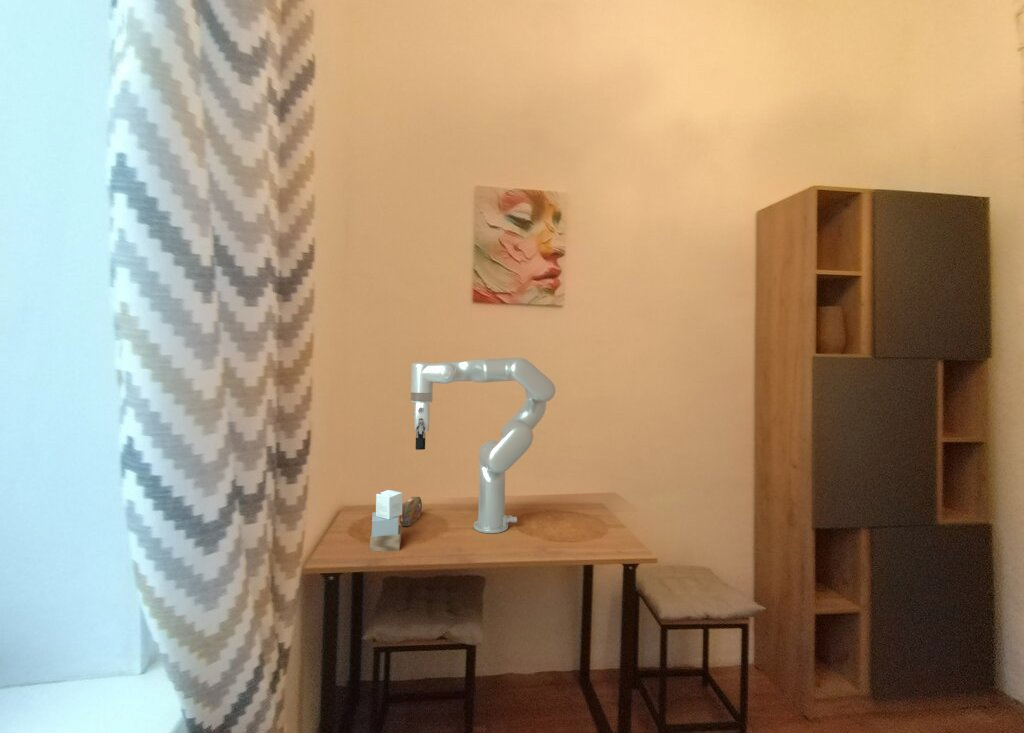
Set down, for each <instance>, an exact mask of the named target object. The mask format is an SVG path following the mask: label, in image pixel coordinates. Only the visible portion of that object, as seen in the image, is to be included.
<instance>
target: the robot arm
mask: <svg viewBox="0 0 1024 733" xmlns="http://www.w3.org/2000/svg"><path fill="white" fill-rule="evenodd" d="M410 369H411V371H410V374H411V376H410V403H413V426H414V427H413V428H414V431H415V433H416V435H415V450H417V451H421V450H425V449H426V431H427V432H429V431H430V410H431V409H430V403H433V394H434V393H433V392H434V390H433V388H434V383H435V384H443V385H448V384H450V383H452V382H473V383H497V382H498V383H500V382H501V383H502V382H516V383H518V384H519V385H520V386H521V387H522V388H523V389H524V391H525V392H524V393H525V401H524V403H523V405H522V406H521V407H520V408H519V410H518V411H517V412H516V413H515V414H514V415H513V416H512V417H511V418H510V419H509V420H508V421H507V422H505V424H504V425H503V426H502V428H501V429H500V430H501V431H500V436H501V439H500V440H498V441H497V440H493V439H490V440H486V441H485V442H484V443H483V444H482V445H480V448H479V451H478V469H479V470H478V472H479V473H478V477H479V478H478V509H477V510H478V512H477V513H478V514H477V517H478V518H477V520H475V521H474V522H473V528H474V530H476V531H477V532H479V533H484V534H498V533H502V532H505V531H506V530H508V529H509V523H517V522H518V518H517V516H513V515H509V514H508V515H506V514H505V503H506V502H505V499H506V471H508V470H509V469H511V467H513V465H514V464H516V462H517V461H518V460H519V459H520V458H521V457H522V456H523V455H524V454H525V453H526V452H527V451H528V450H529V448H530V447H531V445H532V444H533V442H534V432H533V430H534V429H535V427H537V425H538V424H539V423H540V422H541V420H542V419H543V417H544V415H545V413H546V408H547V402H550V401H551V400H552V399H553V398H554V397H555V395H556V386H555V384H554V382H553V381H552V380H551V379H550V378H548V376H547V375H545V373H543V372H542V371H540V369H538V367H537V366H535V365H534V364H533V363H532V362H530V361H529V360H528V359H526V358H524V357H503V358H499V357H498V358H481V359H479V358H478V359H473V360H464V361H461V360H459V361H458V360H457V361H440V362H437V363H436V362H435V363H431V362H421V361H420V362H418V361H416V362H413V363H412V364H411V368H410Z"/></svg>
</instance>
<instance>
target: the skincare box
mask: <svg viewBox="0 0 1024 733" xmlns="http://www.w3.org/2000/svg"><path fill="white" fill-rule="evenodd" d="M402 504H403V492H400V491H398V490H397V491H396V490H393V489H392V490H391V489H386V490H384V491H381V492H378V493H376V494H375V512H376V516H377V517H381V518H385V519H388V520H390V519H392V518H395V517H397V516H398V517H400V515H402Z"/></svg>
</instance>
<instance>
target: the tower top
mask: <svg viewBox="0 0 1024 733" xmlns="http://www.w3.org/2000/svg"><path fill="white" fill-rule="evenodd" d="M398 525H399V516H397V517H395V518H392V519H390V520H388V519H385V518H381V517H377V516H376V511H374V512H373V511H372V516H371V533H372V537H377V536H389V535H398Z"/></svg>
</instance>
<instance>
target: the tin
mask: <svg viewBox="0 0 1024 733" xmlns="http://www.w3.org/2000/svg"><path fill="white" fill-rule="evenodd" d="M422 504H423V503H422V499H421V497H420V496H412V497H409V499H408V500H406V501H405V502H402V515H400V516H399V525H401V527H402V526H403V527H411V526H412V525H413V524H414V523H415V522H416V521H418V520H419V519H420V516H421V514H422V509H423V508H422V506H423V505H422ZM410 525H411V526H410Z"/></svg>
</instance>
